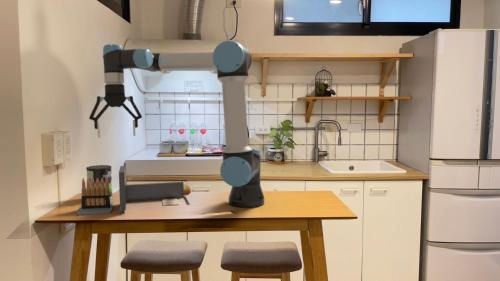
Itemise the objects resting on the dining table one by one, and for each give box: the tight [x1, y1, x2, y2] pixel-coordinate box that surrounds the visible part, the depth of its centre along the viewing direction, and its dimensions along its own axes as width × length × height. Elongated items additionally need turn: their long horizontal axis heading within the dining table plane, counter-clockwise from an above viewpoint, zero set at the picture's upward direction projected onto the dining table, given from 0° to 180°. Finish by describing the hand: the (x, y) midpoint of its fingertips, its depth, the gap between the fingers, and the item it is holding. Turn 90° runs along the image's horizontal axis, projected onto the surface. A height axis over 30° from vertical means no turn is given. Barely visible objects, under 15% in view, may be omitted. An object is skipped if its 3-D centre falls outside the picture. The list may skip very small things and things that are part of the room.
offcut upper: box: [161, 198, 180, 207], centre depth 159 cm, size 6×10×1 cm, turn 15°
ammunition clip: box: [80, 177, 111, 209], centre depth 153 cm, size 11×2×12 cm, turn 98°
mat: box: [76, 202, 114, 216], centre depth 154 cm, size 12×14×1 cm
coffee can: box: [86, 164, 113, 202], centre depth 171 cm, size 10×10×14 cm
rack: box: [118, 165, 190, 215], centre depth 157 cm, size 26×16×16 cm, turn 106°
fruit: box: [183, 182, 192, 196], centre depth 175 cm, size 11×10×8 cm
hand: (117, 136), depth 159 cm, fingers open, 13 cm apart
